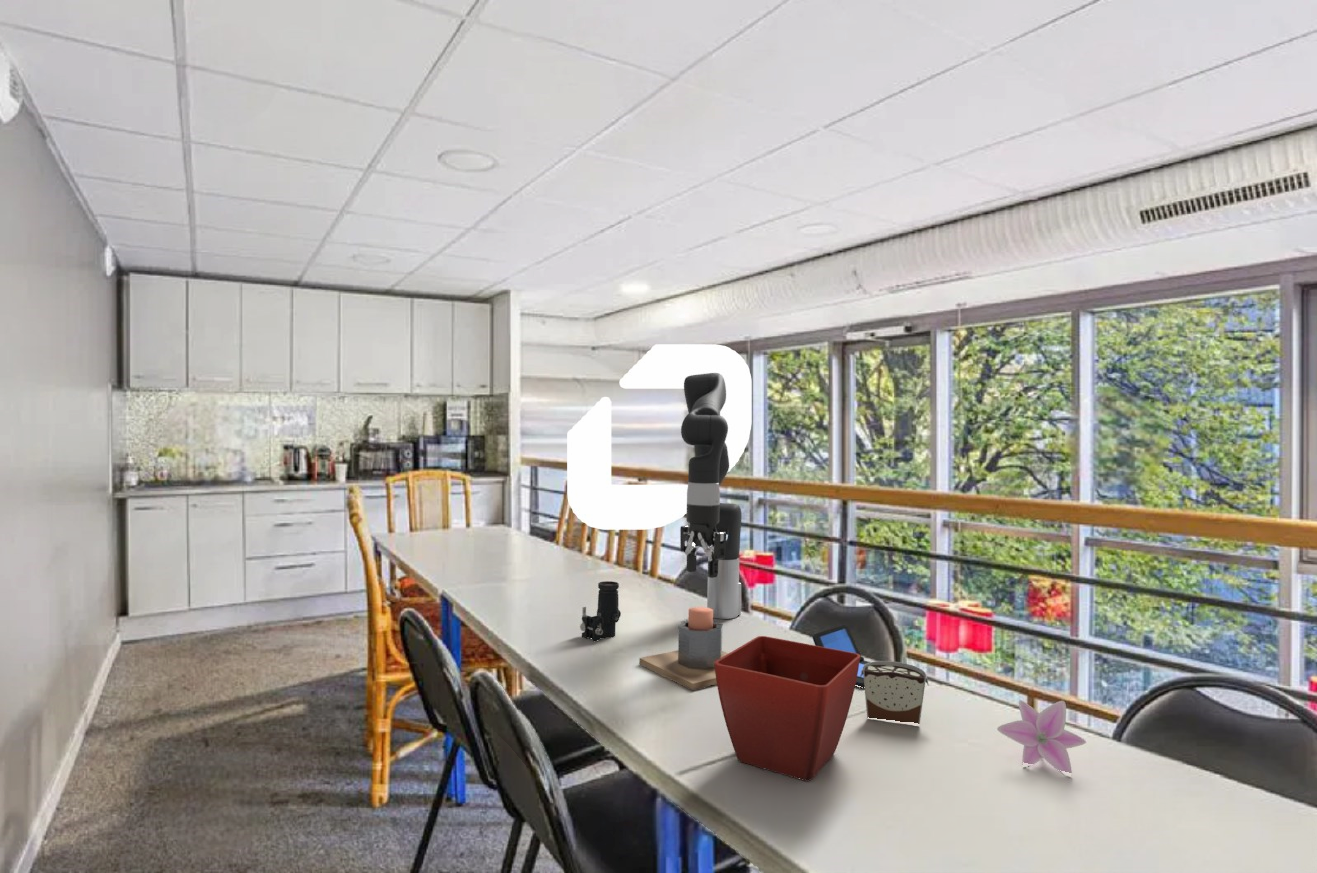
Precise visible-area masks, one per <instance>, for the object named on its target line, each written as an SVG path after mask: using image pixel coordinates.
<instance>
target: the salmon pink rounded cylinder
mask: <svg viewBox="0 0 1317 873" xmlns="http://www.w3.org/2000/svg"><path fill="white" fill-rule="evenodd" d="M687 617H688V620H687V621H688V628H691V629H698V630H709V629H713V621H714V618H713V610H712V609H710V608H707V607H706V606H705V607H703V606H695V607H690V608H688V616H687Z"/></svg>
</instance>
